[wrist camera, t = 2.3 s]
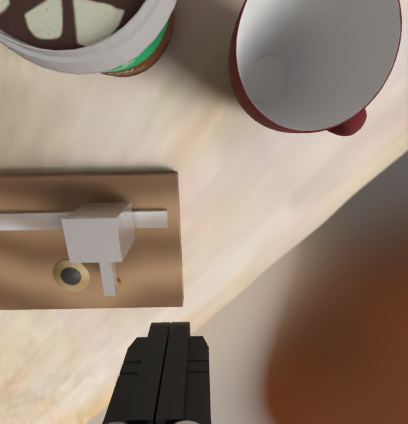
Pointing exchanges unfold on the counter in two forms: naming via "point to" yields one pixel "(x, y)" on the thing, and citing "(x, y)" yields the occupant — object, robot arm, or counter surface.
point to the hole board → (88, 272)
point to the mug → (313, 61)
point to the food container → (88, 33)
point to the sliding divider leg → (100, 238)
